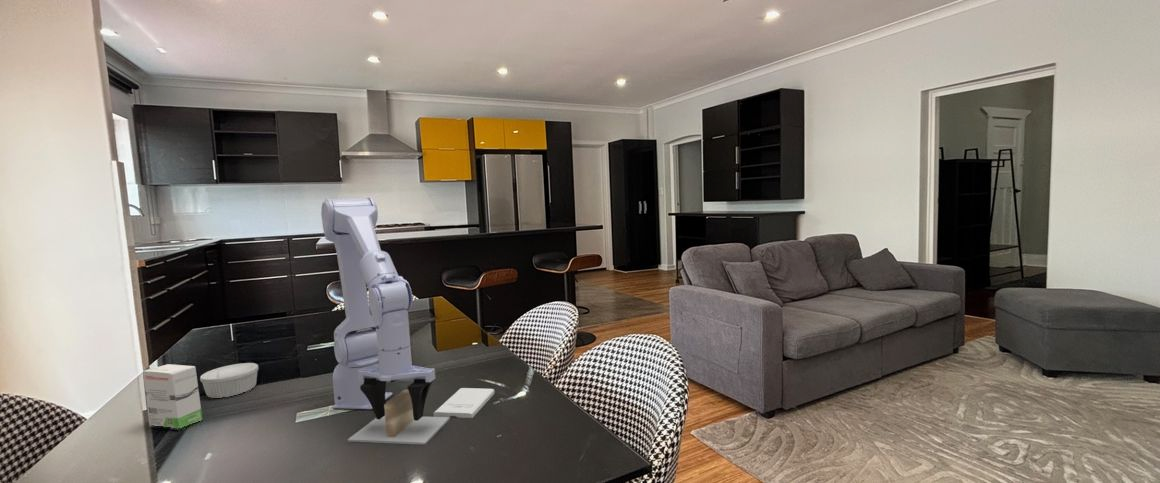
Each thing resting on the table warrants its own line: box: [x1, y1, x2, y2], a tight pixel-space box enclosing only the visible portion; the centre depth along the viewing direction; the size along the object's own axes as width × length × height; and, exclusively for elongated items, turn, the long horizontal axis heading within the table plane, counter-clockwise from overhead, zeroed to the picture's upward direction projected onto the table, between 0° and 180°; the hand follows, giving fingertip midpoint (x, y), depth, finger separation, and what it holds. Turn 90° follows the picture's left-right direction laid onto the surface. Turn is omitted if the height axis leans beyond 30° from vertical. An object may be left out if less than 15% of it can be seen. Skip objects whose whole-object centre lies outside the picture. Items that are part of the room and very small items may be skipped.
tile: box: [384, 389, 414, 437], centre depth 91 cm, size 2×7×6 cm, turn 170°
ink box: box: [142, 363, 203, 429], centre depth 99 cm, size 9×5×12 cm, turn 73°
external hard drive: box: [433, 387, 496, 419], centre depth 102 cm, size 2×8×12 cm
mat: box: [347, 416, 451, 446], centre depth 91 cm, size 15×10×1 cm, turn 80°
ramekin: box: [199, 362, 259, 399], centre depth 116 cm, size 11×11×5 cm
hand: (399, 417), depth 91 cm, fingers open, 7 cm apart
